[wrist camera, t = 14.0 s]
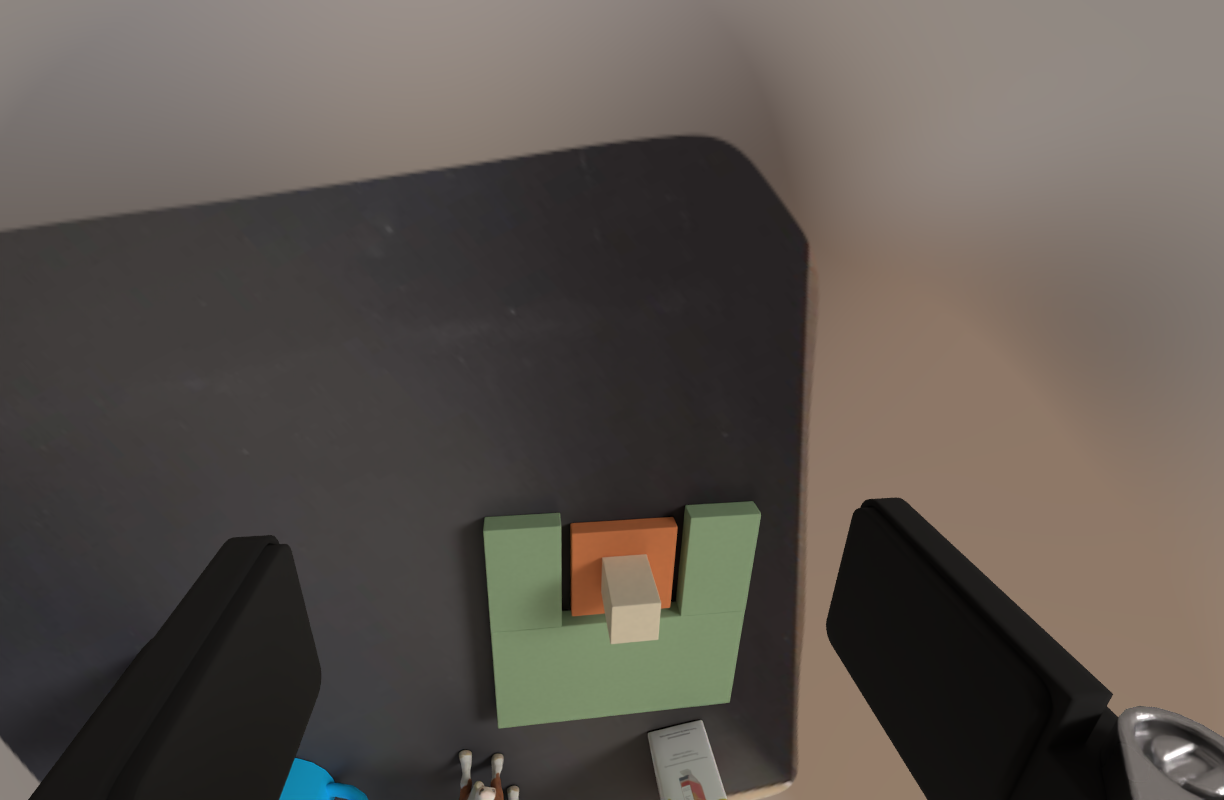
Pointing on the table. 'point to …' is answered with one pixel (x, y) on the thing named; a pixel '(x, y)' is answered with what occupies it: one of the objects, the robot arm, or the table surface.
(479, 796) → the bull figurine
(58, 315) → the table surface
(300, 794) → the mug
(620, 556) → the terracotta pad
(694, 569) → the green mat
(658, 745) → the ink box
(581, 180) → the table surface
